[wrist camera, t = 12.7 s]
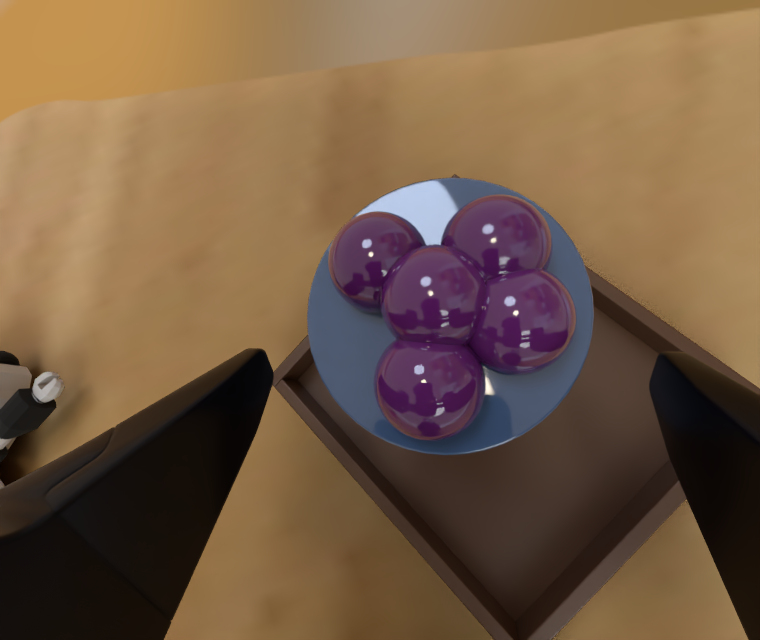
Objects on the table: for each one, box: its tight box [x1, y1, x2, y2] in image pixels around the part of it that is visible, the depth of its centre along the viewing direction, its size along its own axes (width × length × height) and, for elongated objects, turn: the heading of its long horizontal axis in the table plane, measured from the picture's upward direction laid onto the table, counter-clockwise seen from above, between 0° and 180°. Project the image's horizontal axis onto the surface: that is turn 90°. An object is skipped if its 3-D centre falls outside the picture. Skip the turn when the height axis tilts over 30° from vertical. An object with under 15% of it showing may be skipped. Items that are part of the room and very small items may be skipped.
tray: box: [272, 175, 760, 640], centre depth 18 cm, size 16×14×2 cm
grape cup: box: [307, 178, 594, 455], centre depth 13 cm, size 7×7×13 cm
